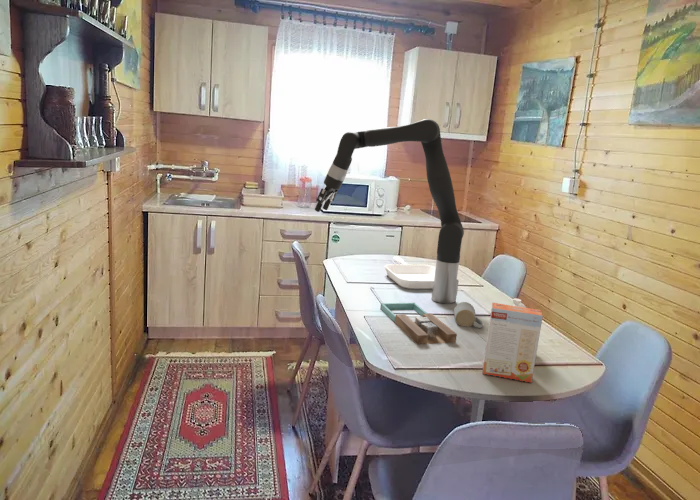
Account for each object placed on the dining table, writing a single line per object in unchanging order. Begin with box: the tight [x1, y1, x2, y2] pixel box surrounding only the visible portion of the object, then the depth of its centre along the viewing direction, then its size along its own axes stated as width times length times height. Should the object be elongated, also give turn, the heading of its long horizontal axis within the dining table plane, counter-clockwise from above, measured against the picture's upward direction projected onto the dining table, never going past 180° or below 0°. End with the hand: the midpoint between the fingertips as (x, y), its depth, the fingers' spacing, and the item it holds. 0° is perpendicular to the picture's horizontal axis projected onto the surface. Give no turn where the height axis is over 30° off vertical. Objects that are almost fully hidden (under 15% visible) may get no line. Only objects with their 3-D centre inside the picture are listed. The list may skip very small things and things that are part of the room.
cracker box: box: [482, 302, 544, 384], centre depth 155 cm, size 14×6×21 cm, turn 75°
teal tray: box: [379, 302, 429, 323], centre depth 198 cm, size 14×14×3 cm
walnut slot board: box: [394, 313, 458, 345], centre depth 183 cm, size 14×19×4 cm
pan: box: [384, 255, 436, 290], centre depth 255 cm, size 27×44×5 cm, turn 16°
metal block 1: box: [414, 316, 431, 328], centre depth 184 cm, size 4×4×4 cm
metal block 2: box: [421, 322, 438, 339], centre depth 179 cm, size 4×4×4 cm
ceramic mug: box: [453, 301, 484, 329], centre depth 195 cm, size 11×8×8 cm
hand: (320, 210), depth 231 cm, fingers open, 8 cm apart
